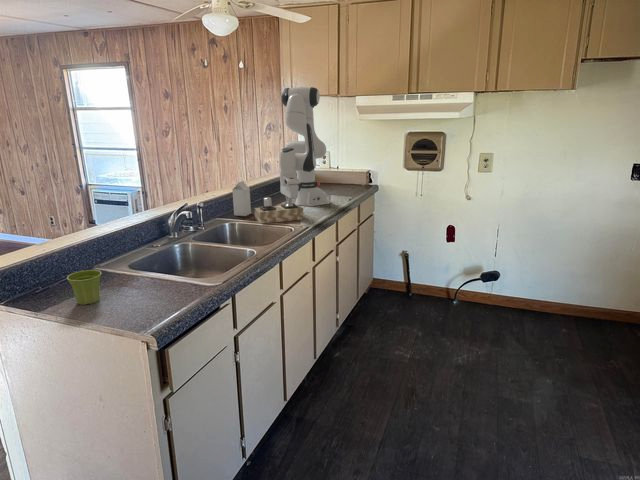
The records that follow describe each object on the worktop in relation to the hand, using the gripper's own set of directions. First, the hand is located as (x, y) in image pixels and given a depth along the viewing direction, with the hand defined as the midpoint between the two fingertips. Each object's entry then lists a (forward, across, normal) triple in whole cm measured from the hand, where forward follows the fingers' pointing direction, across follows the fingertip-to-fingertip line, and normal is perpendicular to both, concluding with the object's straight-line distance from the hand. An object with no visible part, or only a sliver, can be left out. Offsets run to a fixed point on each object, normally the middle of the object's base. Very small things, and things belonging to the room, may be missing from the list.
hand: (289, 204), depth 239 cm
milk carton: (+8, -19, -22) cm, 30 cm away
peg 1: (+3, 0, -12) cm, 12 cm away
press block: (+8, 0, -6) cm, 10 cm away
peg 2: (+7, 0, 0) cm, 7 cm away
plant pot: (+7, +81, -92) cm, 123 cm away
